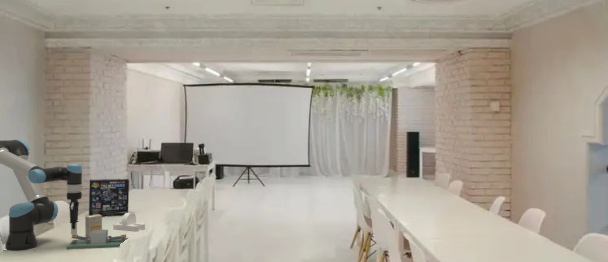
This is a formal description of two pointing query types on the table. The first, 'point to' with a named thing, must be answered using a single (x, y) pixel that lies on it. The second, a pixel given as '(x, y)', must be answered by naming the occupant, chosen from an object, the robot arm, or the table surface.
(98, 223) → the supplement box
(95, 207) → the box
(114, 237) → the strap
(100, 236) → the board
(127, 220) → the white slotted holder
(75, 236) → the block
